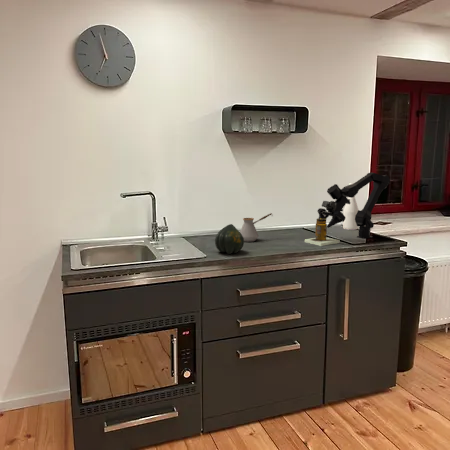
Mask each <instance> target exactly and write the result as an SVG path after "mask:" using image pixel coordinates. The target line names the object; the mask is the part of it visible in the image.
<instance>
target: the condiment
mask: <svg viewBox="0 0 450 450" xmlns="http://www.w3.org/2000/svg"><path fill="white" fill-rule="evenodd" d="M327 225H328V223H327V219H324V218H319V217H318V218H316V223H315V233H314V235H315V237H314V238H316V239H311V238H308V239H309V240H312V241H316V242H321V241H328V240H327V239H326V237H327V232H328V231H327ZM327 238H328V237H327Z"/></svg>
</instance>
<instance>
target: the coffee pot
mask: <svg viewBox="0 0 450 450" xmlns="http://www.w3.org/2000/svg"><path fill="white" fill-rule="evenodd" d="M270 216H271V217H273V216H274V214H273V213H271V212H270V213H268V214H267V215H264V216H262V217H261V218H259V219H258V220H255V221H254V218H253V217H243V218H242V220H243V224H242V227H241V229H240V230H239V232H240V233H241V234H242V236H243V238H244V243H246V242H249V243H250V242H251V243H252V242H255V241H257V240H258V238H259V233H258V232H257V231H258V230H257V228H256V226H255V224H256V223H259V222H261V221H263V220H265V219H266V218H268V217H270Z"/></svg>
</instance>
